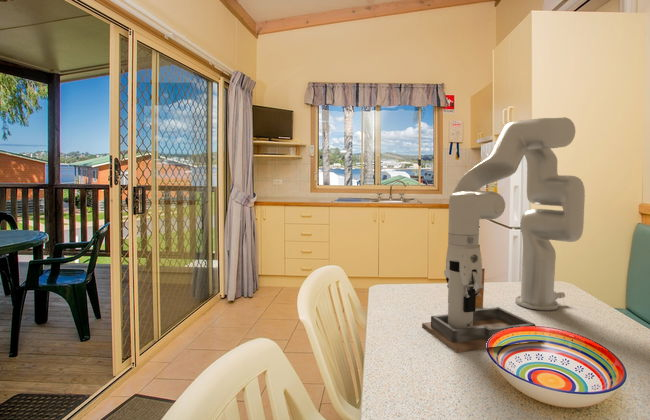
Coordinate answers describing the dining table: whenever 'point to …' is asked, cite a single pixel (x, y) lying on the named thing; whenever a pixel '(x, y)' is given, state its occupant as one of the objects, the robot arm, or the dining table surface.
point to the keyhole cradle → (474, 328)
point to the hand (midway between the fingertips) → (461, 306)
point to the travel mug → (457, 300)
